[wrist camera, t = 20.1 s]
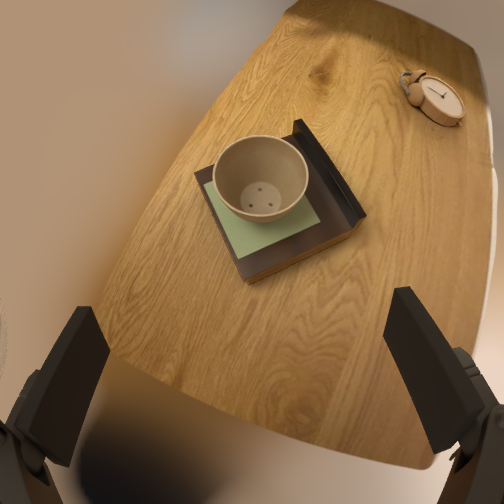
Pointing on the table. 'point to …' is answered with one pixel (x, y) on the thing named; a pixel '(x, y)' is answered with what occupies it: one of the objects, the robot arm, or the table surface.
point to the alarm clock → (434, 98)
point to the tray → (289, 216)
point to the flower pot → (260, 177)
